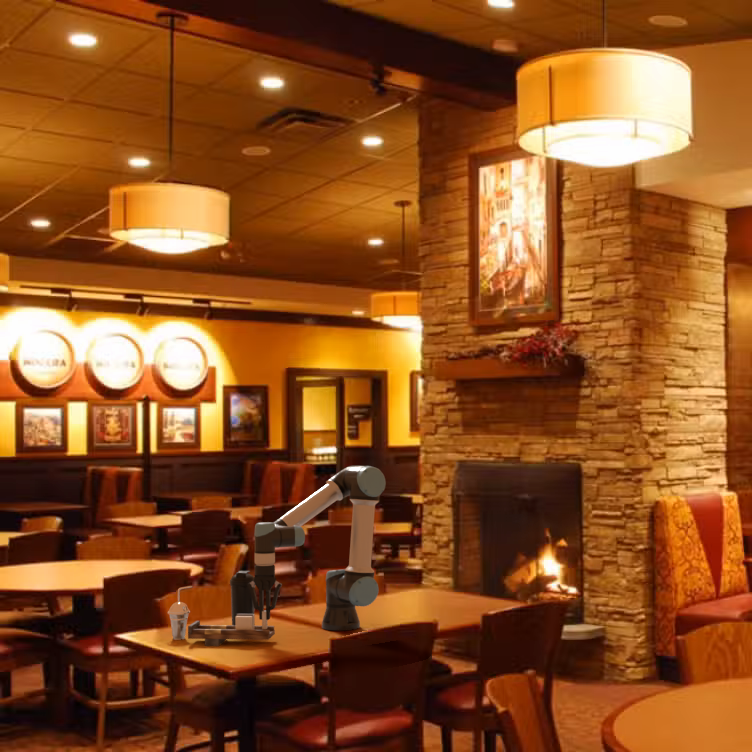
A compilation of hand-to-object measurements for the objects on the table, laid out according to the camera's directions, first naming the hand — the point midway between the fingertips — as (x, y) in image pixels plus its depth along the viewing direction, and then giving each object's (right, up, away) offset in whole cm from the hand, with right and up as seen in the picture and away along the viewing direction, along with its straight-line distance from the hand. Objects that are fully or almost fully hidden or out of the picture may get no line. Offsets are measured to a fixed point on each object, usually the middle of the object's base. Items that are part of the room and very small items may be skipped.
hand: (264, 628), depth 414 cm
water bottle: (-11, -7, +28) cm, 31 cm away
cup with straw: (-33, -6, +10) cm, 36 cm away
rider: (-7, -2, +1) cm, 8 cm away
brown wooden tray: (-12, -6, +1) cm, 14 cm away
